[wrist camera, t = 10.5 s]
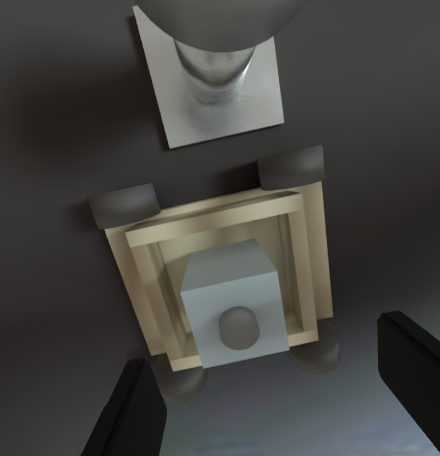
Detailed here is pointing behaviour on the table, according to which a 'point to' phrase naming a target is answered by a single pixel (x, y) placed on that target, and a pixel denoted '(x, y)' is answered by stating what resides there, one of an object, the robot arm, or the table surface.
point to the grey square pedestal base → (210, 87)
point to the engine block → (233, 303)
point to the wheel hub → (221, 21)
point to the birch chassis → (217, 236)
